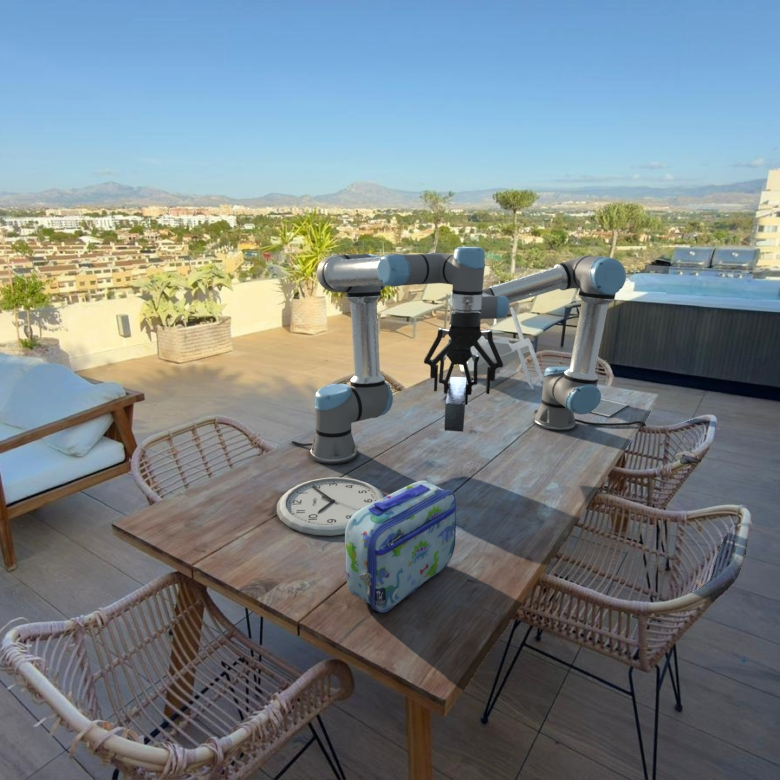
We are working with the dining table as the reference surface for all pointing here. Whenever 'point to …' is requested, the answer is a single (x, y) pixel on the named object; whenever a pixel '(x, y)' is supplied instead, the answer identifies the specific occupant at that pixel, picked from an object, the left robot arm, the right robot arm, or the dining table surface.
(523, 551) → the dining table surface
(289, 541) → the dining table surface
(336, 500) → the wall clock
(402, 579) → the lunch box
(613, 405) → the invitation card
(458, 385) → the bar
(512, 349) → the white plastic object
